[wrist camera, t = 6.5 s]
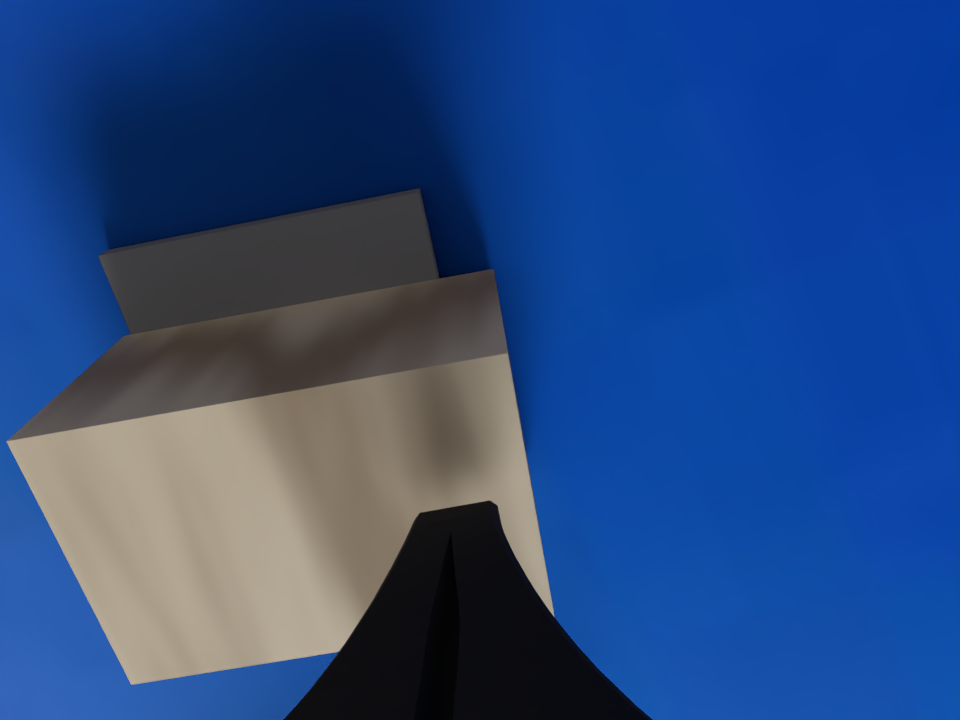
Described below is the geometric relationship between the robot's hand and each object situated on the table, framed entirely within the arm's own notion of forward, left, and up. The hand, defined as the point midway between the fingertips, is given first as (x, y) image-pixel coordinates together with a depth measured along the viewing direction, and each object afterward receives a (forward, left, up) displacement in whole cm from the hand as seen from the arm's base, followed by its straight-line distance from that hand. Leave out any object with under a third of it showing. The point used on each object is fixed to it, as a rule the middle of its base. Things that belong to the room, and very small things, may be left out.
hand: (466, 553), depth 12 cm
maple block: (-1, 0, -4) cm, 4 cm away
